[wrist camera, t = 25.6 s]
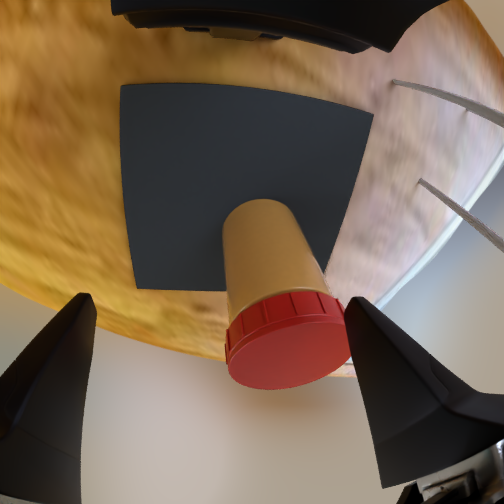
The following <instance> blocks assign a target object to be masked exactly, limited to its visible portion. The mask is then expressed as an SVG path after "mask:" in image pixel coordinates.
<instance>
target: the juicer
mask: <svg viewBox="0 0 504 504" xmlns="http://www.w3.org/2000/svg"><path fill="white" fill-rule="evenodd" d="M393 82H394V83H395V84H397V85H401V86H404V87H408V88H412V89H416V90H419V91H422V92H425V93H428V94H431V95H434V96H437V97H440V98H443V99H445V100H448V101H451V102H453V103H456V104H458V105H460V106H463V107H465V108H467V109H466V110H468V111H470V112H472V113H475V114H477V115H479V116H481V117H483V118H486V119H488V120H490V121H492V122H494V123H496V124H497V125H499V126H501V127H503V128H504V114H503V113H501V112H499V111H497V110H495V109H493V108H490V107H488V106H486V105H483V104H481V103H479V102H476V101H473V100H471V99H468V98H465V97H462V96H459V95H456V94H453V93H450V92H447V91H443V90H440V89H436V88H432V87H428V86H424V85H419V84H415V83H410V82H405V81H399V80H393ZM419 183H420V184H421V185H422V186H424V187H425V188H426V189H428V190H429V191H430V192H431V193H433V194H434V195H435V196H436V197H438V198H439V199H440V200H441V201H443V202H444V203H445V204H446V205H447V206H449V207H450V208H451V209H452V210H454V211H455V212H456V213H457V214H458V215H460V216H461V217H462V218H463V219H464V220H466V221H467V222H468V223H469V224H470V225H472V226H473V227H474V228H475V229H476V230H478V231H479V232H480V233H481V234H482V235H484V236H485V237H486V238H487V239H488V240H489V241H491V242H492V243H493V244H494V245H495V246H497V248H499V249H500V250H501V251H502V252H504V239H503V238H502V237H501V236H499V235H498V234H497V233H496V232H494V231H493V230H492V229H490V228H489V227H488V226H486V225H485V224H484V223H483V222H481V221H480V220H478V219H477V218H476V217H475V216H473V215H472V214H471V213H469V212H468V211H467V210H465V209H464V208H463V207H461V206H460V205H458V204H457V203H456V202H454V201H453V200H452V199H450V198H449V197H447V196H446V195H445V194H443V193H442V192H440V191H439V190H438V189H436V188H435V187H433V186H432V185H430V184H429V183H427V182H426V181H425V180H423V179H422V178H421V179H420V180H419Z"/></svg>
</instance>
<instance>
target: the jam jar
mask: <svg viewBox="0 0 504 504" xmlns="http://www.w3.org/2000/svg"><path fill="white" fill-rule="evenodd" d="M222 244H223V257H224V270H225V283H226V295H227V306H228V317H229V326H230V325H231V323H232V322H233V320H234V319H235V318H236V317H237V316H238V315H239V314H240V313H242V312H243V311H244V310H246V309H247V308H249V307H250V306H252V305H254V304H256V303H258V302H260V301H262V300H265V299H267V298H270V297H273V296H276V295H280V294H285V293H289V292H299V291H313V292H320V293H324V294H327V295H330V296H332V297H334V296H333V294H332V292H331V290H330V288H329V285H328V283H327V281H326V279H325V277H324V275H323V273H322V270H321V268H320V266H319V264H318V262H317V260H316V258H315V256H314V254H313V252H312V250H311V248H310V246H309V244H308V242H307V240H306V237H305V235H304V233H303V231H302V229H301V228H300V226H299V224H298V222H297V220H296V218H295V216H294V214H293V213H292V211H291V210H290V209H289V208H288V207H287V206H285V205H284V204H282V203H280V202H278V201H275V200H271V199H255V200H251V201H248V202H245V203H243V204H241V205H240V206H238V207H237V208H235V209H234V210H233V211H232V212H231V213H230V214H229V216H228V217H227V218H226V220H225V222H224V225H223V229H222Z"/></svg>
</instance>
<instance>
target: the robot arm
mask: <svg viewBox="0 0 504 504" xmlns="http://www.w3.org/2000/svg"><path fill="white" fill-rule="evenodd" d="M447 1H449V0H111V10H112V14H113V15H114V16H116V15H124V17H125V19H126V20H127V21H128V22H129V23H130V24H132V25H133V26H134V27H135V28H145V27H146V28H148V29H150V28H167V27H183V28H184V30H186V31H189V32H210V35H211V36H212V37H214V38H227V39H238V40H247V41H253V40H254V39H256V38H257V37H262V38H268V39H274V40H279V39H281V38H283V37H288V38H292V39H297V40H301V41H305V42H309V43H313V44H317V45H321V46H324V47H328V48H331V49H335V50H338V51H345V52H348V53H351V54H355V53H359V52H363V51H365V50H366V49H368V48H370V47H372V46H373V47H376V48H378V49H380V50H383V51H385V52H387V53H389V52H391V51H392V50H393V48H394V47H395V45H396V44H397V43H398V41H399V40H400V38H401V37H402V35H403V34H404V32H405V31H406V30H407V29H408V28H409V27H410V26H411V25H412V24H413V23H414V22H415V21H416V20H417V19H418V18H419V17H420V16H422V15H423V14H424V13H426V12H428V11H429V10H431V9H433V8H434V7H436V6H438V5H440V4H442V3H445V2H447ZM276 35H277V36H276ZM343 316H344V322H345V328H346V333H347V338H348V343H349V349H350V353H351V357H352V361H353V364H354V368H355V371H356V375H357V379H358V382H359V386H360V390H361V394H362V397H363V401H364V405H365V409H366V413H367V418H368V421H369V426H370V430H371V435H372V439H373V444H374V449H375V454H376V459H377V464H378V469H379V474H380V480H381V485H382V488H383V489H384V488H388V487H392V486H396V485H399V484H402V483H406V482H410V481H412V480H416V481H415V482H413V483H411V484H409V485H407V486H405V487H404V489H403V492H402V494H401V496H400V498H399V500H398V502H397V503H396V504H504V394H488V393H482V392H478V391H476V390H475V389H473V388H472V387H470V386H469V385H468V384H466V383H465V382H464V381H463V380H461V379H460V378H458V377H457V376H456V375H455V374H453V373H452V372H451V371H450V370H448V369H447V368H446V367H445V366H443V365H442V364H441V363H440V362H439V361H438V360H436V359H435V358H434V357H433V356H432V355H431V354H429V353H428V352H427V351H426V350H425V349H424V348H423V347H422V346H421V345H419V344H418V343H417V342H416V341H415V340H414V339H412V338H411V337H410V336H409V335H408V334H407V333H406V332H404V331H403V330H402V329H401V328H400V327H399V326H397V325H396V324H395V323H394V322H393V321H392V320H390V319H389V318H388V317H387V316H386V315H384V314H383V313H382V312H381V311H380V310H378V309H377V308H376V307H375V306H374V305H372V304H371V303H370V302H369V301H368V300H366V299H365V298H364V297H361V296H359V297H352V298H351V300H350V301H349V303H348V305H347V307H346V309H345V311H344V315H343ZM96 319H97V310H96V307H95V305H94V302H93V299H92V297H91V295H90V294H89V293H78V294H77V295H76V296H75V297H73V298H72V299H71V300H70V301H69V302H68V303H67V304H66V305H65V306H64V307H63V308H62V309H61V310H60V311H59V312H58V313H57V314H56V316H55V317H54V318H53V319H51V321H50V322H49V323H48V324H47V325H46V326H45V327H44V328H43V329H42V330H41V331H40V332H39V333H38V334H37V335H36V336H35V338H34V339H33V340H32V341H31V342H30V343H29V344H28V345H27V346H26V348H25V349H24V350H23V351H22V352H21V353H20V354H19V356H18V357H17V358H16V361H15V360H14V362H13V363H12V364H11V365H10V366H9V367H8V368H7V370H6V371H5V372H4V373H3V374H2V375H1V377H0V504H81V471H80V470H81V461H80V460H81V440H82V425H83V416H84V406H85V399H86V391H87V385H88V378H89V372H90V367H91V361H92V355H93V345H94V334H95V327H96Z"/></svg>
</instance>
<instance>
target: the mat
mask: <svg viewBox="0 0 504 504" xmlns="http://www.w3.org/2000/svg"><path fill="white" fill-rule="evenodd" d="M373 116H374V115H373V114H371V113H368V112H365V111H361V110H358V109H355V108H351V107H348V106H344V105H340V104H336V103H333V102H329V101H324V100H320V99H316V98H311V97H306V96H301V95H296V94H291V93H285V92H279V91H273V90H266V89H259V88H251V87H242V86H232V85H219V84H201V83H152V84H134V85H122V86H121V90H120V157H121V175H122V188H123V199H124V209H125V218H126V226H127V233H128V240H129V247H130V253H131V259H132V265H133V270H134V276H135V281H136V286H137V289H159V290H187V291H226V283H225V270H224V257H223V244H222V229H223V225H224V222H225V220H226V218H227V217H228V216H229V214H230V213H231V212H232V211H233V210H234V209H235V208H237V207H238V206H240V205H241V204H243V203H245V202H248V201H251V200H255V199H271V200H275V201H278V202H280V203H282V204H284V205H285V206H287V207H288V208H289V209H290V210H291V211H292V213H293V214H294V216H295V218H296V220H297V222H298V224H299V226H300V228H301V229H302V231H303V233H304V235H305V237H306V240H307V242H308V244H309V246H310V248H311V250H312V252H313V254H314V256H315V258H316V260H317V262H318V264H319V266H320V268H321V270H322V273H323V274H324V271H325V269H326V266H327V263H328V261H329V258H330V255H331V253H332V250H333V247H334V245H335V242H336V239H337V236H338V233H339V230H340V228H341V225H342V222H343V219H344V216H345V213H346V210H347V207H348V204H349V201H350V198H351V195H352V191H353V188H354V185H355V182H356V178H357V175H358V172H359V168H360V165H361V161H362V158H363V154H364V151H365V147H366V144H367V140H368V136H369V132H370V128H371V124H372V120H373Z"/></svg>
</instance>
